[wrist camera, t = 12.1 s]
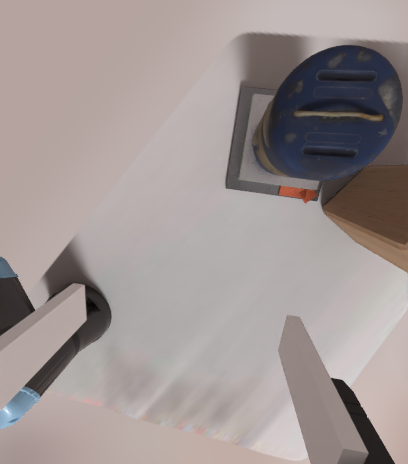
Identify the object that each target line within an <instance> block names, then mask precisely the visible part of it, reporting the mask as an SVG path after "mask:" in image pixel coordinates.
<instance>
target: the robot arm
mask: <svg viewBox="0 0 408 464" xmlns="http://www.w3.org/2000/svg"><path fill="white" fill-rule="evenodd" d="M17 277H18V275H17V274H15V273H14V272H13V270H12V269H11V267H10V266H9V264H8V262H7V261H6V260H5V259H4V258H2V257H0V429H2V428H6V427H9V426H11V425H13V424H14V423H16V422H17V421H18V420H20V419H21V418H22V417H23V416H24V414H25V413H26V412H27V411H28V410H29V409H30V408H31V407H32V406H33V405H34V404H35V403H37V402H38V401H39V399H40V397H41V396H42V395H43V393H44V392H45V391H46V390H47V389H48V388H49V386H50V385H51V384H52V383H53V382H54V380H55V379H56V378H57V377H58V376H59V375H60V373H61V372H62V371H63V370H64V369H65V367H66V366H67V365H68V364H69V363H70V361H71V360H72V359H73V358H74V357H75V356H76V354H77V353H78V352H79V351H81V350H82V349H84V348H85V347H87V346H88V345H89V344H91V343H93V342H95V341H96V340H98V339H99V338H100V337H101V336H102V335H103V334H104V333H105V332H106V330H107V329H108V328H109V326H110V323H111V312H110V308H109V306H108V304H107V302H106V301H105V299H104V298H103V297H102V296H101V295H100V294H99V293H98V292H97V291H95V290H94V289H92V288H90V287H88V286H85V285H83V284H76V283H73V284H68V285H65V286H63V287H61V288H60V289H58V290H57V291H55V292H54V293H53V294H52V295H51V296H50V297H49V299H48V300H47V302H46V303H45V304H44V305H43V306H41V307H40V308H38V309H37V310H36V311H35V309H34V307H33V305H32V303H31V302H30V300H29V298H28V296H27V294H26V293H25V291H24V289H23V287H22V285H21V283H20V281H19V279H18V278H17ZM278 352H279V356H280V359H281V363H282V366H283V370H284V373H285V376H286V380H287V383H288V387H289V390H290V394H291V397H292V401H293V404H294V408H295V411H296V414H297V418H298V421H299V425H300V428H301V432H302V435H303V439H304V442H305V446H306V449H307V452H308V456H309V459H310V463H311V464H395V463H394V461H393V460H392V458H391V456H390V454H389V453H388V451H387V449H386V448H385V446H384V444H383V442H382V441H381V439H380V437H379V435H378V434H377V432H376V430H375V429H374V427H373V425H372V423H371V422H370V420H369V418H367V415H366V413H365V411H364V410H363V408H362V407H361V405H360V403H359V401H358V399H357V397H356V396H355V394H354V392H353V391H352V390H351V389H350V388H349V387H348V385H347V384H346V383H345V382H344V381H343V380H340V379H334V378H330V376H329V374H328V372H327V370H326V368H325V366H324V364H323V362H322V360H321V358H320V356H319V354H318V352H317V350H316V348H315V346H314V344H313V342H312V340H311V338H310V336H309V335H308V333H307V331H306V329H305V327H304V325H303V323H302V321H301V319H300V317H297V316H290V315H287V317H286V321H285V325H284V329H283V333H282V337H281V341H280V345H279V349H278Z"/></svg>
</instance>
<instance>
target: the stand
mask: <svg viewBox="0 0 408 464" xmlns="http://www.w3.org/2000/svg"><path fill="white" fill-rule="evenodd" d="M277 91H278V90H270V89H260V88H250V87H241V93H240V100H239V106H238V113H237V119H236V126H235V132H234V138H233V145H232V151H231V158H230V164H229V171H228V177H227V184H226V188H227V189H234V190H241V191H249V192H256V193H263V194H270V195H277V196H284V197H291V198H298V199H302V200H303V201H304V203H307V202H308V201H310V200H312V201H317V200H318V196H319V193H320V189H321V186H322V182H323V181H314V180H306V179H298V178H291V177H284V176H278V175H274V174H271V173H269V172H267V171H266V170H264V169H263V168H262V167H261V166H260V165H259V163H258V162H257V160H256V158H255V155H254V151H253V137H254V133H255V130H256V128H257V126H258V124H259V122H260V120H261V119H262V117H263V115H264V113H265V110H266V109H267V106H268V104H269V102H271V101H272V99H273V97H274V96H275V94H276V92H277Z"/></svg>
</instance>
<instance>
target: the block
mask: <svg viewBox="0 0 408 464" xmlns="http://www.w3.org/2000/svg"><path fill="white" fill-rule="evenodd" d="M323 212H324V214H325V215H326V216H328V217H329V218H330V219H331V220H332V221H333V222H334V223H335V224H336V225H338V226H339V227H340V228H341V229H342V230H343V231H344V232H345V233H346V234H348V235H349V236H350V237H351V238H352V239H353V240H354V241H355V242H356V243H358V244H360V245H362V246H363V247H365V248H367V249H368V250H370V251H372V252H373V253H375V254H377V255H378V256H380V257H382V258H384V259H385V260H387V261H389V262H390V263H392V264H394V265H395V266H397V267H399V268H401V269H402V270H404V271H406V272H407V273H408V165H391V166H368V167H366V168H364V169H363V170H362V171H361V172H360V173H359V174H357V175H356V176H355V177H354V178H353V179H352V180H351V181H350V182H349V183H348V184H347V185H346V186H345V187H344V188H343V189H341V190H340V191H339V192H338V193H337V194H336V195H335V196H334V197H333V198H332V199H331V200H330V201H329V202H328V203H327V204H326V205H324V207H323Z"/></svg>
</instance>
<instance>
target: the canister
mask: <svg viewBox="0 0 408 464" xmlns="http://www.w3.org/2000/svg"><path fill="white" fill-rule="evenodd" d="M402 100H403V98H402V89H401V84H400V80H399V77H398V75H397V72H396V71H395V69H394V68H393V66H392V65H391V64H390V62H389V61H388V60H387V59H386V58H385V57H383V56H382V55H381V54H379V53H378V52H376V51H374V50H372V49H369V48H365V47H362V46H356V45H342V46H336V47H332V48H328V49H326V50H323V51H320V52H318V53H316V54H314V55H312V56H311V57H309V58H308V59H306V60H305V61H303V62H302V63H301V64H300V65H298V66H297V67H296V68H295V69H294V70H293V71H292V72H291V73H290V74H289V75H288V77H287V78H286V79H285V81H284V82H283V83H282V84H281V86H280V88H279V89H278V91H277V92H276V94H275V96H274V97H273V99H272V101H271V102H269V104H268V106H267V109H266V110H265V113H264V115H263V117H262V119H261V120H260V122H259V124H258V126H257V128H256V130H255V133H254V137H253V151H254V155H255V158H256V160H257V162H258V163H259V165H260V166H261V167H262V168H263V169H264V170H266V171H267V172H269V173H271V174H274V175H278V176H284V177H291V178H298V179H306V180H314V181H325V180H334V179H339V178H342V177H345V176H347V175H350V174H352V173H355V172H357V171H358V170H360V169H362V168H363V167H365V166H366V165H367V164H369V163H370V162H371V161H373V160H374V159H375V158H376V157H377V156H378V155H379V154H380V153H381V152H382V150H383V149H384V148H385V146H386V145H387V143H388V142H389V141H390V139H391V137H392V136H393V134H394V132H395V129H396V127H397V124H398V121H399V118H400V115H401V110H402Z"/></svg>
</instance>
